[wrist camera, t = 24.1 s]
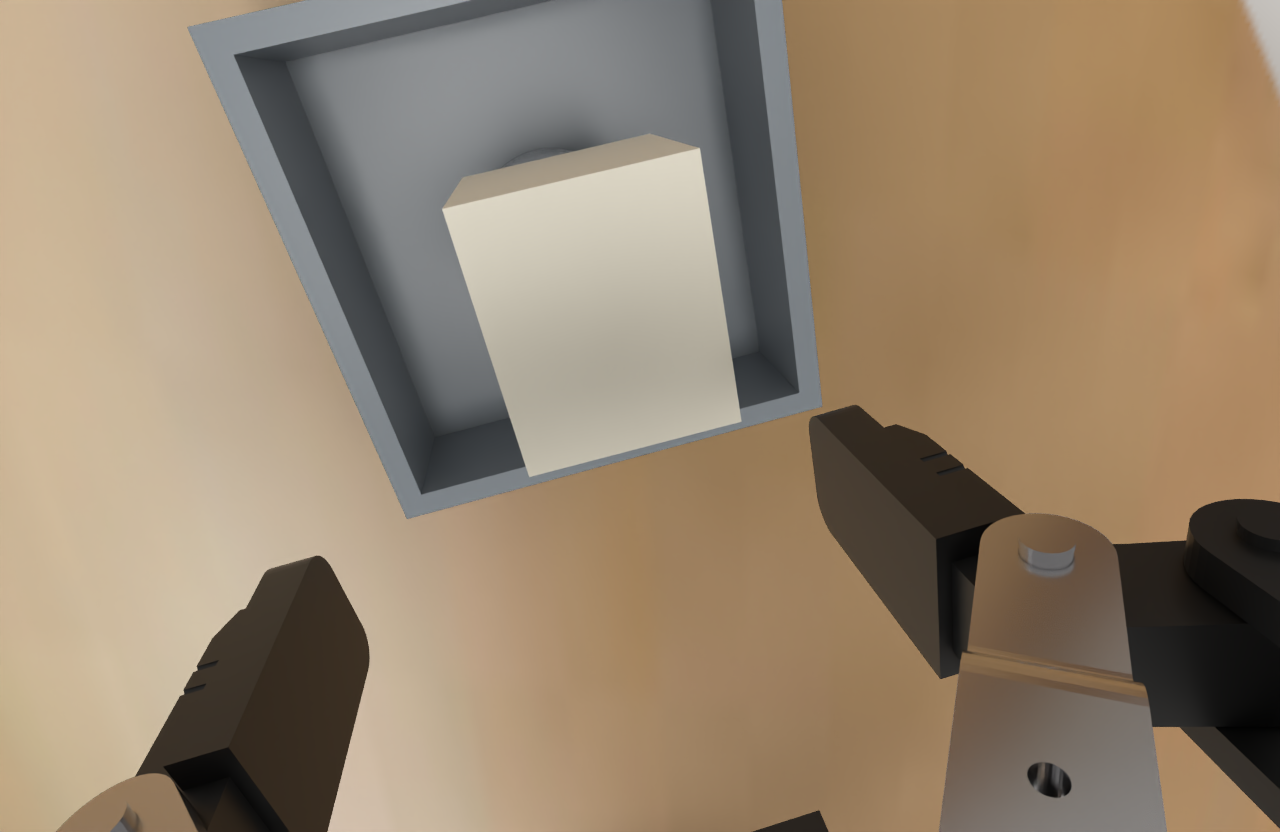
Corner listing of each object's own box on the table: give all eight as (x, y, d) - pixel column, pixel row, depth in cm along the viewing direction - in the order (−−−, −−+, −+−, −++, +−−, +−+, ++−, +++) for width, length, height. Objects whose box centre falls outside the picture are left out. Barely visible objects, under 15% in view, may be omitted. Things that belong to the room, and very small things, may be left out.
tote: (772, 355, 30) (822, 406, 25) (425, 447, 29) (407, 518, 24) (716, -63, 23) (771, -105, 18) (259, 42, 22) (187, 26, 17)
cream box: (688, 344, 21) (741, 421, 16) (526, 384, 20) (529, 477, 15) (649, 133, 18) (700, 148, 13) (462, 177, 18) (442, 208, 13)
